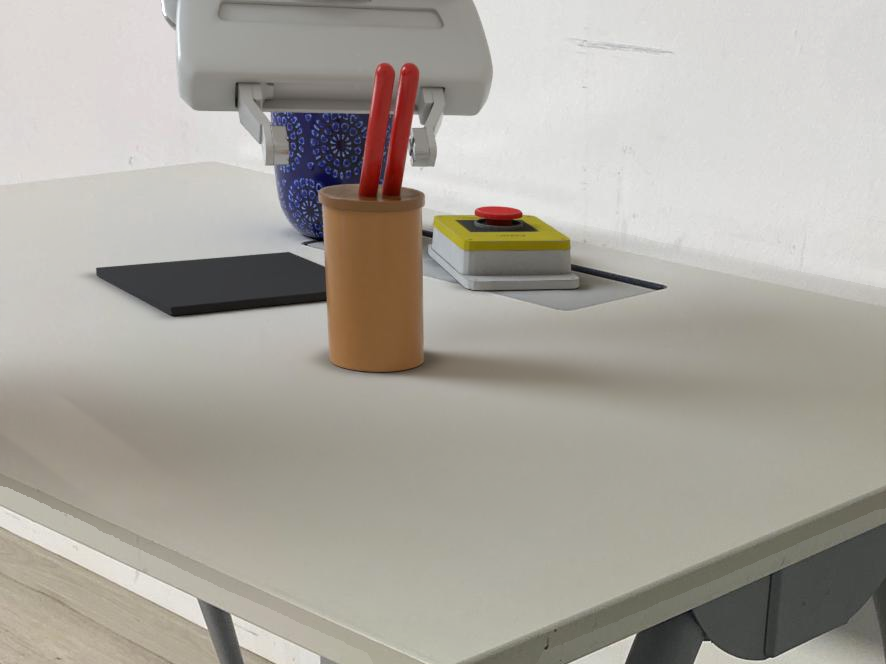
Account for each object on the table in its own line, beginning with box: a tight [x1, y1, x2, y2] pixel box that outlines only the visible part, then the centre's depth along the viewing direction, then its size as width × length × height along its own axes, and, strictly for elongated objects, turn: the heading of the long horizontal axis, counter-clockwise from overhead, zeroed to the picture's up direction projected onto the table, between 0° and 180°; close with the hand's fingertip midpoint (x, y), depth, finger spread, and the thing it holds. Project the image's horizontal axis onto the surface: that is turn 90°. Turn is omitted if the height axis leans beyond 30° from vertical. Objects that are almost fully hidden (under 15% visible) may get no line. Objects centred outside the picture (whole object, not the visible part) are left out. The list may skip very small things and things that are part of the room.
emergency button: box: [427, 205, 580, 291], centre depth 116 cm, size 9×4×15 cm
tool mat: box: [95, 251, 327, 317], centre depth 107 cm, size 16×14×1 cm
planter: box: [269, 112, 394, 240], centre depth 124 cm, size 11×11×11 cm
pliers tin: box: [318, 63, 426, 373], centre depth 87 cm, size 6×7×17 cm
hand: (352, 160), depth 91 cm, fingers open, 8 cm apart
